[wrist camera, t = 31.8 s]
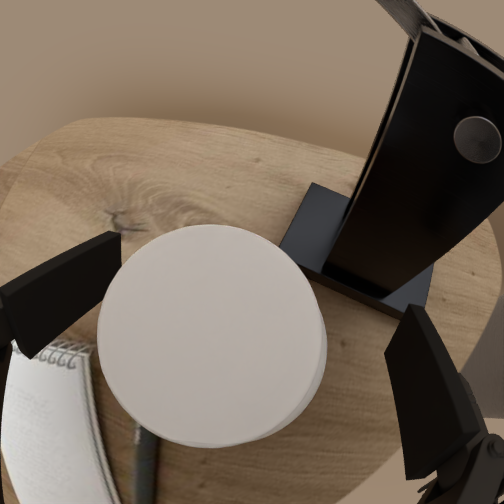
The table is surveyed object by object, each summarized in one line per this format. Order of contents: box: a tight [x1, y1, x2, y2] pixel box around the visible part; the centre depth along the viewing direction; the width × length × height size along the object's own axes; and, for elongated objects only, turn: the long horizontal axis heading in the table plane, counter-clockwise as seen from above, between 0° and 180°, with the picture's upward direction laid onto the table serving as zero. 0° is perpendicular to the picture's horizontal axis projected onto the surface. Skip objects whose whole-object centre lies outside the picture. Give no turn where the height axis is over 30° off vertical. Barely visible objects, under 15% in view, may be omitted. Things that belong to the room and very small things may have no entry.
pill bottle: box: [97, 224, 327, 448], centre depth 10 cm, size 6×6×11 cm
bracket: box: [279, 12, 504, 321], centre depth 10 cm, size 10×6×15 cm, turn 63°
